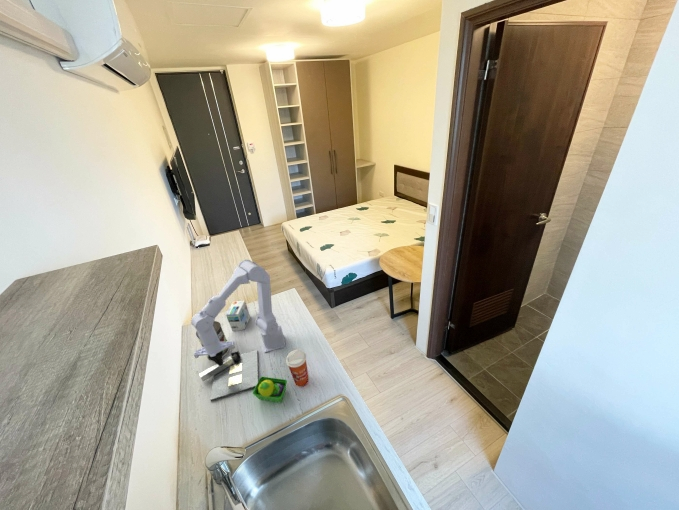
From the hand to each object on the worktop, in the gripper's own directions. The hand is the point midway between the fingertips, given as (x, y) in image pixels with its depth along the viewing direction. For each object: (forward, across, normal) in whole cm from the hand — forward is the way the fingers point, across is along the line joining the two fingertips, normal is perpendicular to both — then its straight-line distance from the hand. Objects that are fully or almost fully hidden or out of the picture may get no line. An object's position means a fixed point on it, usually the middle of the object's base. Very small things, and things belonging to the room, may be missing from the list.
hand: (221, 363), depth 111 cm
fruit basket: (+8, +18, -16) cm, 25 cm away
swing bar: (+6, -2, +3) cm, 8 cm away
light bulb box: (+8, +5, +32) cm, 33 cm away
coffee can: (+8, -5, +16) cm, 19 cm away
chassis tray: (+8, +4, 0) cm, 9 cm away
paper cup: (+8, +30, -13) cm, 34 cm away
